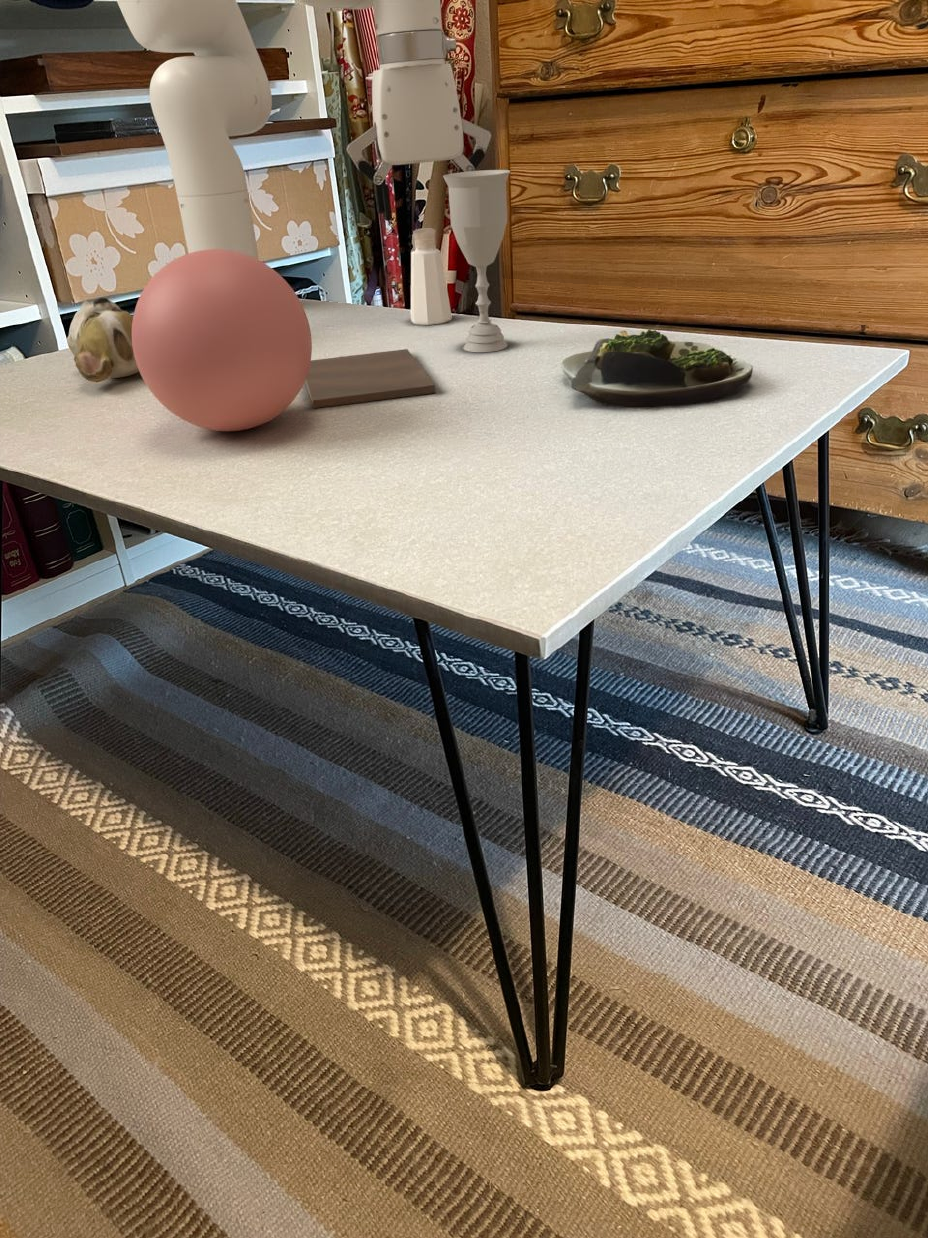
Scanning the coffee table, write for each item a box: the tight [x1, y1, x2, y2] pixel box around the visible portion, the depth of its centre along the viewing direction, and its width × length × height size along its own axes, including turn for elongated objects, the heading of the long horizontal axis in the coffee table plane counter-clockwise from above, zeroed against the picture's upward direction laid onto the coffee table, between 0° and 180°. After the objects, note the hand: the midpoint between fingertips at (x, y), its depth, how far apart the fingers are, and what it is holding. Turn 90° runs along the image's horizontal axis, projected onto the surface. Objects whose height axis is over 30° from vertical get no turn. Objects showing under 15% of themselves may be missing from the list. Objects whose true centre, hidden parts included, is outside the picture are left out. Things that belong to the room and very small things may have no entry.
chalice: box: [442, 169, 511, 353], centre depth 104 cm, size 7×7×18 cm
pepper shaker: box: [410, 227, 453, 326], centre depth 120 cm, size 5×5×11 cm
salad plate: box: [560, 328, 753, 409], centre depth 92 cm, size 19×18×5 cm
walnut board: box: [305, 348, 436, 409], centre depth 99 cm, size 16×12×1 cm
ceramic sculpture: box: [66, 297, 140, 383], centre depth 106 cm, size 11×9×15 cm
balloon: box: [132, 249, 313, 432], centre depth 86 cm, size 15×20×15 cm
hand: (426, 214), depth 116 cm, fingers open, 9 cm apart
